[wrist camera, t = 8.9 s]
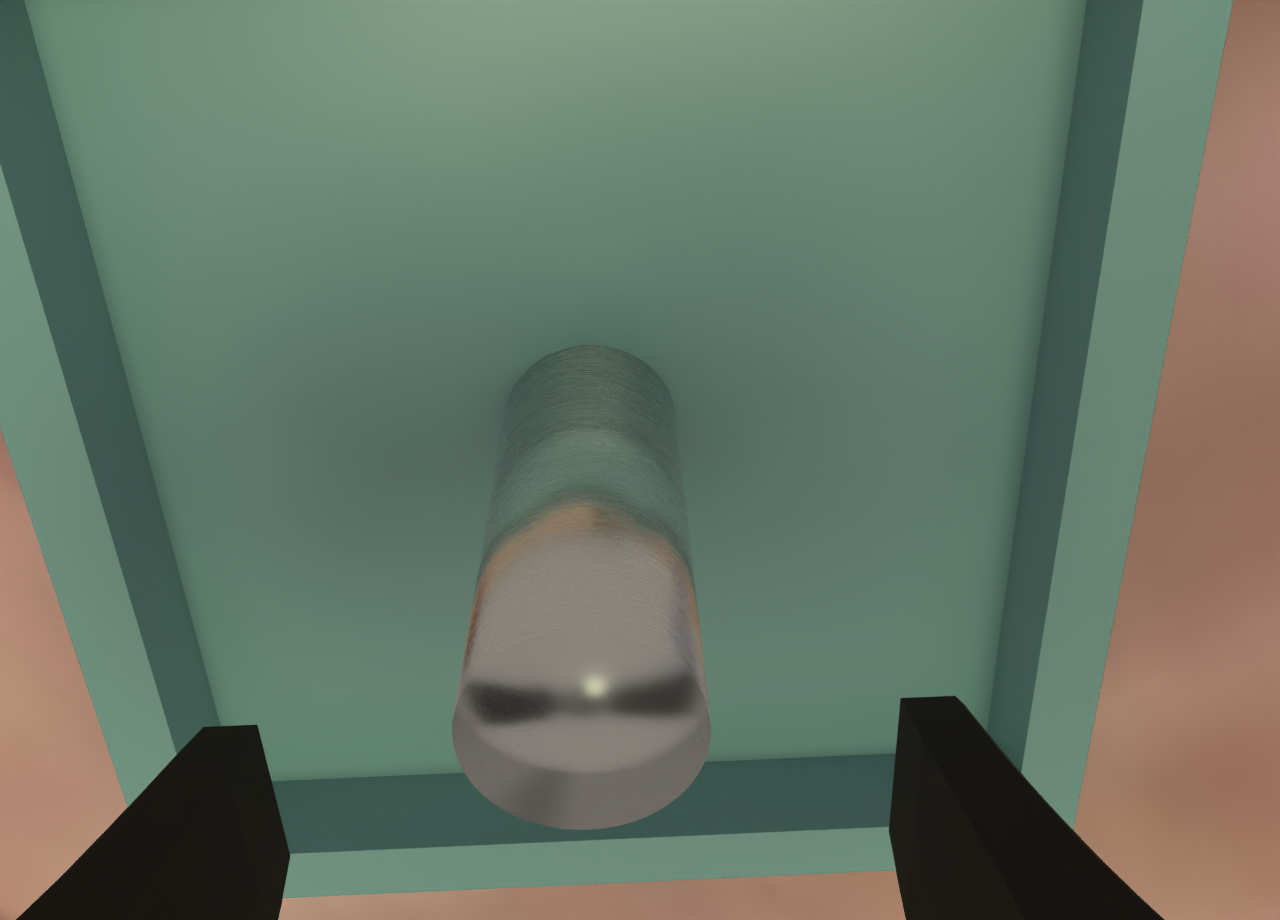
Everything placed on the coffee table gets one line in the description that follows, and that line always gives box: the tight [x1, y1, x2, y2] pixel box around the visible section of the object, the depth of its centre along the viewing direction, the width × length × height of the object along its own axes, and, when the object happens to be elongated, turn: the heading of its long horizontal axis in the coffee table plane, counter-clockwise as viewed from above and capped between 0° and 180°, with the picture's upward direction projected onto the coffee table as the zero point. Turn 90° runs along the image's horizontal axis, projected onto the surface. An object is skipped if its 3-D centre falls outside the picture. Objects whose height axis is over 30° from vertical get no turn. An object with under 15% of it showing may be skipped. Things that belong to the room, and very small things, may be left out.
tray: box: [0, 0, 1233, 898], centre depth 20 cm, size 18×18×3 cm
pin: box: [452, 345, 711, 830], centre depth 17 cm, size 3×3×8 cm
